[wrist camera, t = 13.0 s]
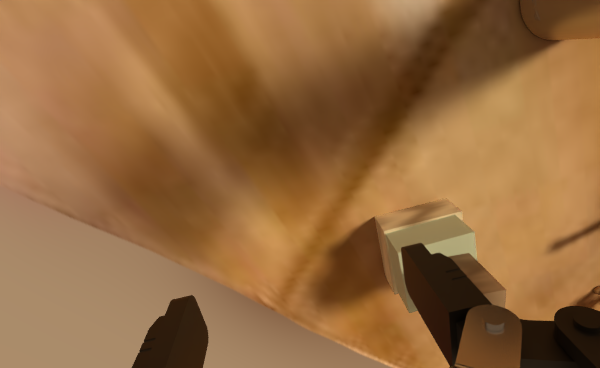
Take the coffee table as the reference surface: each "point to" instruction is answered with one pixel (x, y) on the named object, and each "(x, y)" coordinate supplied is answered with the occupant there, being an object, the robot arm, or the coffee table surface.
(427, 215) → the block
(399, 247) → the tower top
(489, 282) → the walnut block
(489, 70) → the coffee table surface
